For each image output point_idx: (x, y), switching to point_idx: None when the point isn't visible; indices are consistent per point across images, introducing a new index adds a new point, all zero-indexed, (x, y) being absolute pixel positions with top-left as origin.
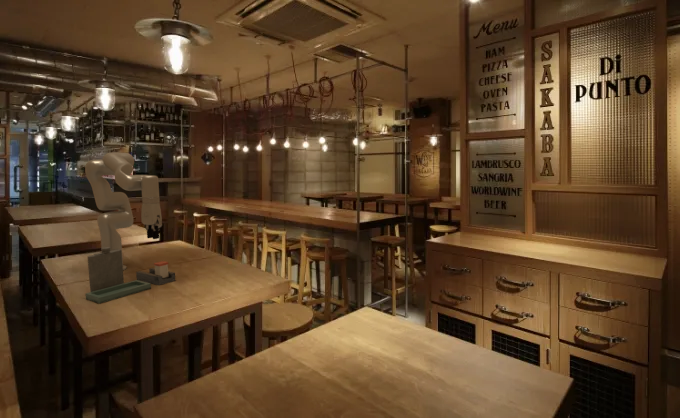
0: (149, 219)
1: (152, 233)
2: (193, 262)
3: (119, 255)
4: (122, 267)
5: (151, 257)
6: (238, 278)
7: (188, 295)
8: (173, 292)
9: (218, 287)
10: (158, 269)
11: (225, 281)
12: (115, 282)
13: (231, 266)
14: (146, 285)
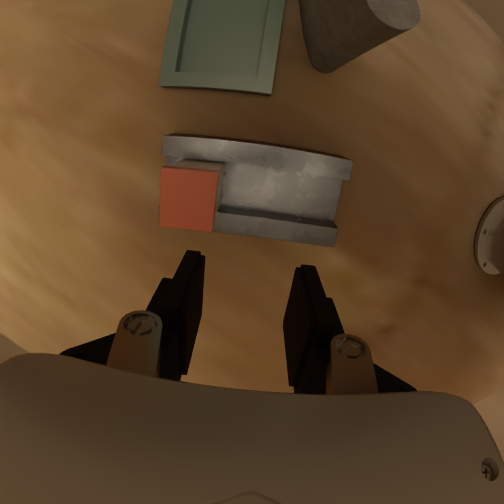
0: (69, 494)
1: (183, 286)
2: None
3: (349, 2)
4: (333, 45)
5: (462, 369)
6: (37, 305)
7: (14, 121)
8: (62, 109)
9: (8, 218)
10: (185, 165)
11: (36, 271)
12: (306, 15)
13: None
14: (162, 66)
